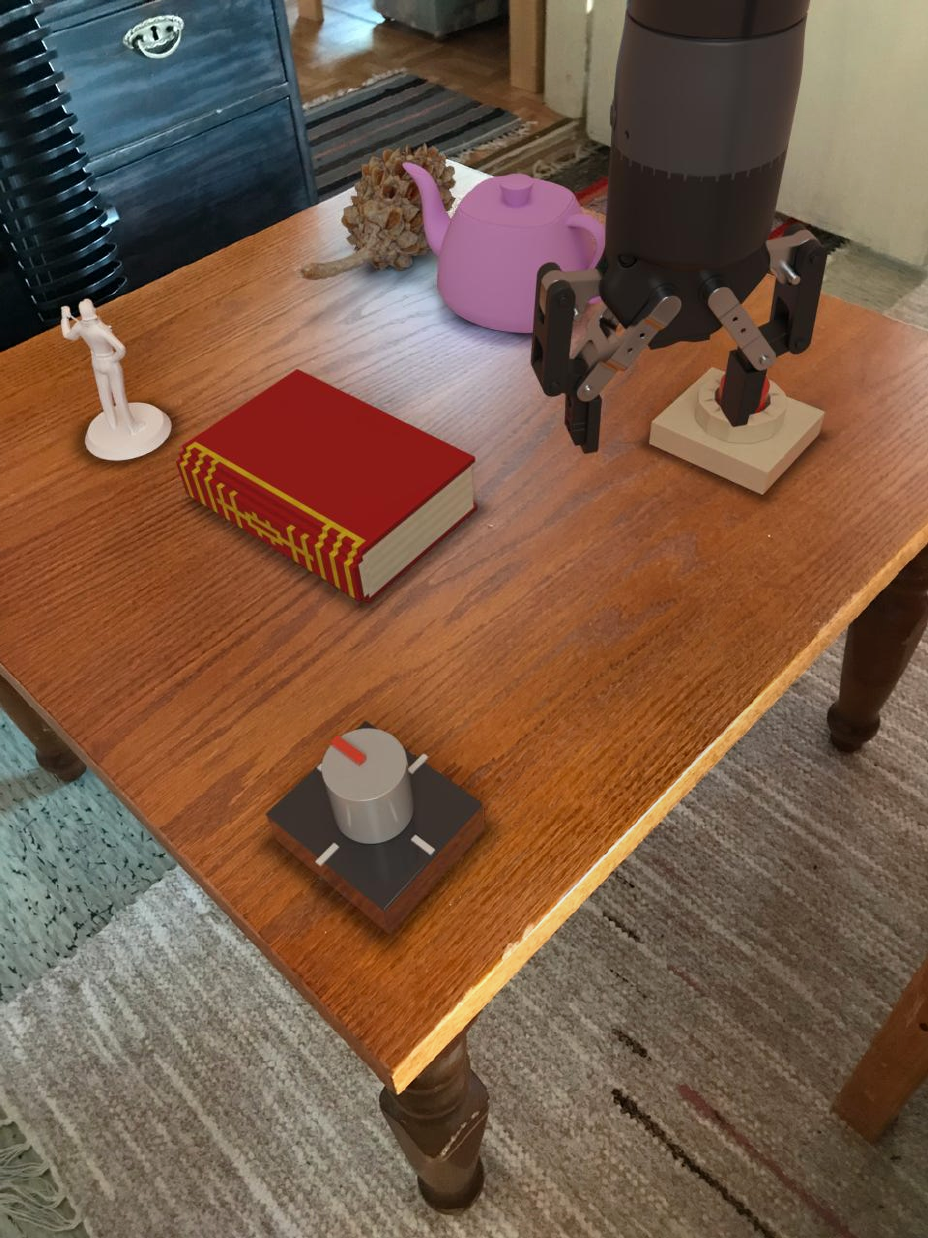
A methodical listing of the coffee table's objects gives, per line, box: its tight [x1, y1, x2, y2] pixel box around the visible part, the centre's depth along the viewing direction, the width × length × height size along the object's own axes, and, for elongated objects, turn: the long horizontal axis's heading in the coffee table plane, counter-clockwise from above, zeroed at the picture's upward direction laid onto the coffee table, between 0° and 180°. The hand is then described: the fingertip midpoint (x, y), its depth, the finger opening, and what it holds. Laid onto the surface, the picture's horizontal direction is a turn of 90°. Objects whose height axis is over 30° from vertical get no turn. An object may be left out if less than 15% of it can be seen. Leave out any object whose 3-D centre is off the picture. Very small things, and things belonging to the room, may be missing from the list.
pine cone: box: [292, 141, 457, 281], centre depth 93 cm, size 22×10×10 cm, turn 152°
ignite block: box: [648, 366, 826, 496], centre depth 76 cm, size 10×9×4 cm
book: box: [175, 368, 478, 603], centre depth 73 cm, size 18×13×5 cm
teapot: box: [402, 162, 605, 334], centre depth 88 cm, size 20×13×12 cm, turn 63°
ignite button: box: [718, 373, 770, 415], centre depth 74 cm, size 4×4×2 cm
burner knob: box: [321, 728, 414, 844], centre depth 52 cm, size 4×4×5 cm
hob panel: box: [265, 720, 486, 935], centre depth 55 cm, size 9×9×3 cm
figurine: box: [60, 298, 172, 461], centre depth 77 cm, size 7×7×12 cm
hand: (660, 430), depth 54 cm, fingers open, 8 cm apart
